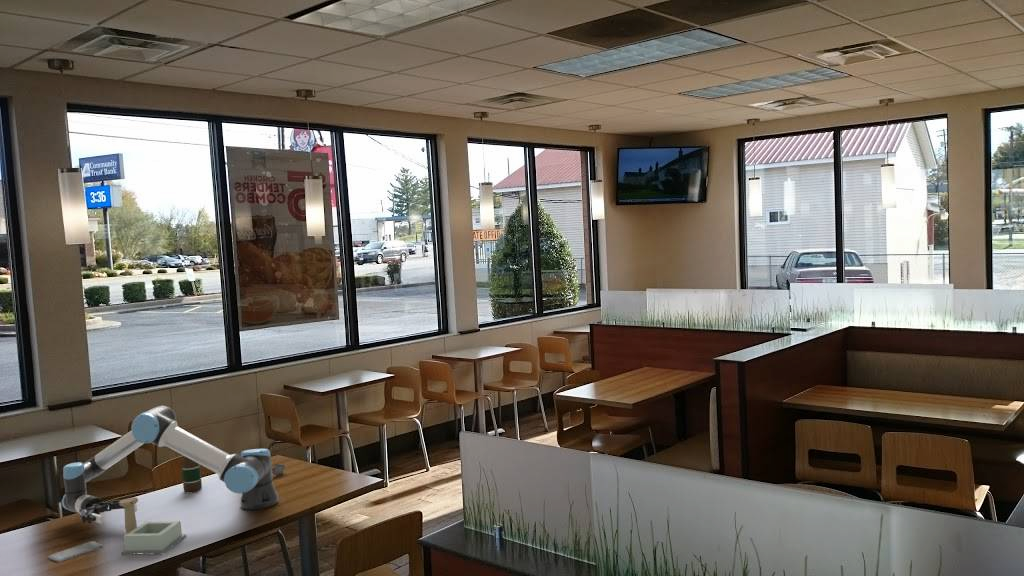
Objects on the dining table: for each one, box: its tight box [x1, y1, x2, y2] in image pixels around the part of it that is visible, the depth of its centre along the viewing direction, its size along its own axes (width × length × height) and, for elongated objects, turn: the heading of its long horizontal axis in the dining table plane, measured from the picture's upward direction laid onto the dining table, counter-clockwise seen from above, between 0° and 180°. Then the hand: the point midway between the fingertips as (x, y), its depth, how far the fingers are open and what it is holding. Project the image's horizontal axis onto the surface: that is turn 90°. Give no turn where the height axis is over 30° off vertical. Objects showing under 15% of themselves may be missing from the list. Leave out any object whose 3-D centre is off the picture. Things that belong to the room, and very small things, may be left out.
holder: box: [120, 520, 187, 555], centre depth 297 cm, size 16×16×6 cm
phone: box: [48, 540, 103, 563], centre depth 295 cm, size 8×16×1 cm, turn 143°
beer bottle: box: [181, 456, 203, 493], centre depth 360 cm, size 8×8×24 cm
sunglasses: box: [271, 463, 285, 477], centre depth 379 cm, size 16×17×5 cm
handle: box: [119, 496, 139, 535], centre depth 305 cm, size 5×6×15 cm
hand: (119, 513), depth 308 cm, fingers open, 13 cm apart
